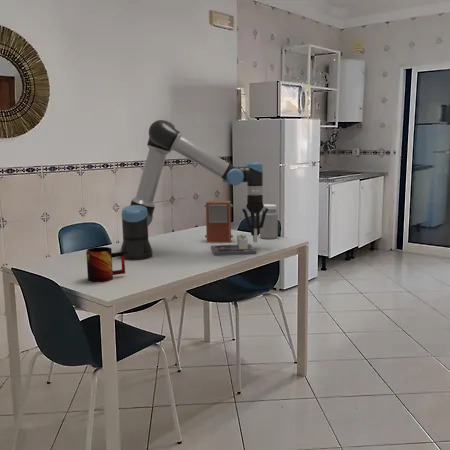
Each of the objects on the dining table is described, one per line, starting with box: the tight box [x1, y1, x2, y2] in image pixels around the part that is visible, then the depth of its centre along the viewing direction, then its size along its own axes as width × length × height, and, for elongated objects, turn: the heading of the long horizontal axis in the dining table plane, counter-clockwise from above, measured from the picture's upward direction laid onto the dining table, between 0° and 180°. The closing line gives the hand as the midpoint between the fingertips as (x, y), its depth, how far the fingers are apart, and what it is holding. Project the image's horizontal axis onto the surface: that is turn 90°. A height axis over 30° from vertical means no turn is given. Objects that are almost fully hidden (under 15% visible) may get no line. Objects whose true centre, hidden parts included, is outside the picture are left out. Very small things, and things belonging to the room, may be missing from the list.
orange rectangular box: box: [204, 200, 234, 243], centre depth 274 cm, size 21×7×15 cm
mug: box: [85, 246, 126, 283], centre depth 206 cm, size 10×14×12 cm
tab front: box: [238, 237, 249, 250], centre depth 248 cm, size 4×4×5 cm
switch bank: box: [210, 243, 257, 257], centre depth 252 cm, size 20×16×2 cm
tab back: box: [236, 234, 247, 245], centre depth 256 cm, size 4×4×5 cm
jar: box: [259, 203, 279, 240], centre depth 283 cm, size 10×10×18 cm
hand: (255, 241), depth 257 cm, fingers closed
